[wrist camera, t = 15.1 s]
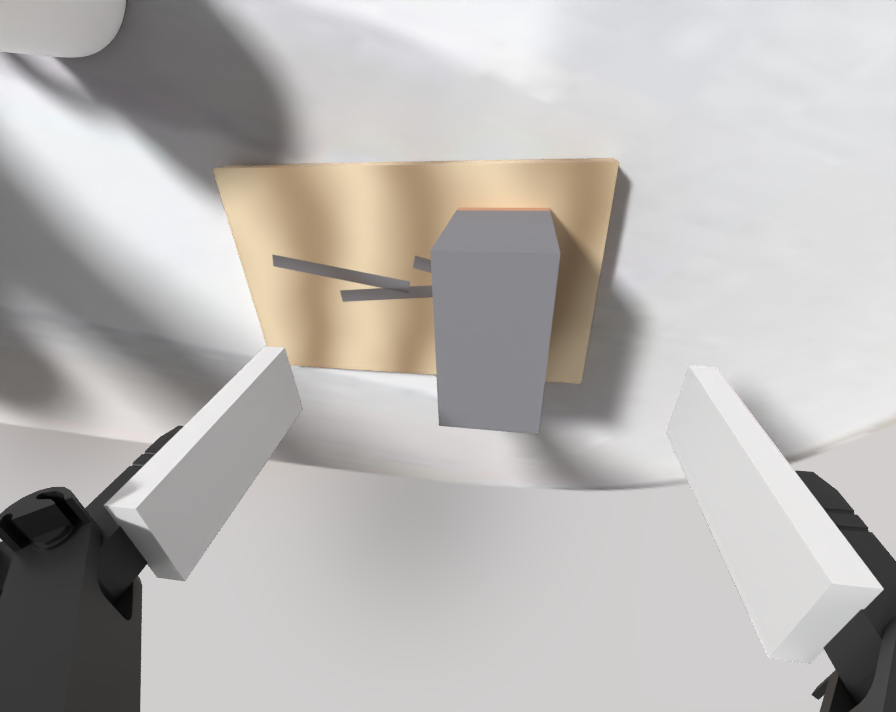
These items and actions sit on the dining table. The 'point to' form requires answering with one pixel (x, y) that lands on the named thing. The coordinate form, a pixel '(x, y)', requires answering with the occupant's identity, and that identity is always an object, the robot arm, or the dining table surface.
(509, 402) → the block
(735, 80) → the dining table surface
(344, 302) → the board
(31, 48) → the cup
